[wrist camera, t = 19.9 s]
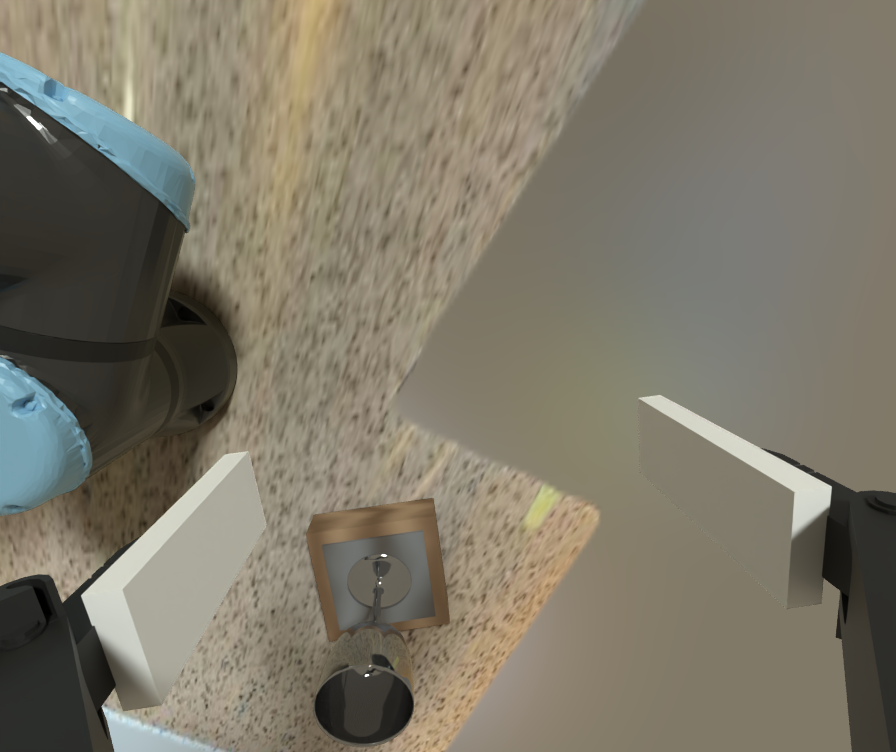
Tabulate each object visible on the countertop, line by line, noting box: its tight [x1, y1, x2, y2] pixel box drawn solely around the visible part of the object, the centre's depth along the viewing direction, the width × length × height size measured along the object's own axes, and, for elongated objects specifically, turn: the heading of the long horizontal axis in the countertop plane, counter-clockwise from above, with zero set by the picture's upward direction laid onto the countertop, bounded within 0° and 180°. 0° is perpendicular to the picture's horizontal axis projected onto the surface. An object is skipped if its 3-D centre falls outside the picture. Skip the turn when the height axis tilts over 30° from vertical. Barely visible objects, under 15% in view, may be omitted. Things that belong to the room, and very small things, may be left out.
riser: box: [306, 498, 450, 641], centre depth 53 cm, size 14×14×4 cm
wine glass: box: [314, 554, 414, 747], centre depth 44 cm, size 8×8×15 cm
